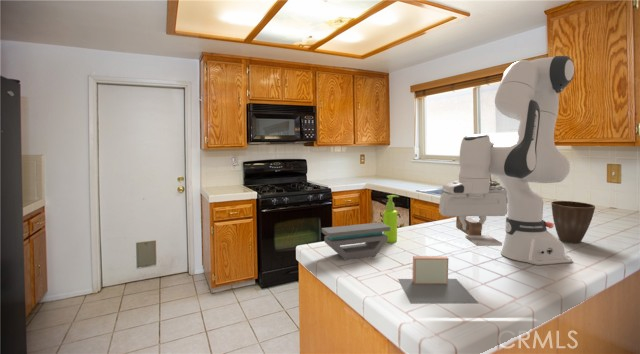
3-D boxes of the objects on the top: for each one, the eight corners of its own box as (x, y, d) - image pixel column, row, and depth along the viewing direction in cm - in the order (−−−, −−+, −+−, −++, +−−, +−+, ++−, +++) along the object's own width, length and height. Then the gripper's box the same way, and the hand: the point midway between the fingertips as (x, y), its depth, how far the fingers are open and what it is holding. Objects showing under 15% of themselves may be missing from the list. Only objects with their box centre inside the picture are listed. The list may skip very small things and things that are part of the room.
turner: (449, 227, 117) (450, 214, 116) (470, 227, 116) (470, 214, 116) (477, 245, 96) (477, 230, 95) (502, 245, 96) (502, 230, 95)
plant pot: (599, 242, 141) (602, 205, 140) (581, 248, 134) (584, 208, 133) (560, 234, 155) (562, 199, 153) (541, 239, 148) (544, 202, 146)
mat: (456, 280, 105) (456, 278, 105) (479, 305, 89) (479, 303, 89) (397, 280, 105) (397, 278, 105) (410, 305, 90) (410, 303, 89)
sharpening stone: (379, 248, 137) (379, 222, 136) (389, 254, 130) (390, 226, 129) (321, 256, 129) (321, 228, 128) (329, 262, 122) (328, 233, 121)
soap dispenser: (401, 241, 147) (402, 195, 144) (388, 243, 144) (388, 196, 142) (393, 237, 152) (394, 193, 150) (380, 239, 150) (380, 194, 147)
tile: (445, 281, 103) (446, 255, 102) (447, 284, 101) (448, 258, 100) (412, 281, 103) (412, 256, 102) (414, 284, 101) (414, 258, 100)
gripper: (501, 184, 108) (499, 227, 110) (437, 185, 109) (436, 227, 110) (512, 187, 102) (510, 232, 104) (444, 188, 102) (443, 232, 104)
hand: (472, 229), depth 107 cm, fingers closed on turner, 3 cm apart
